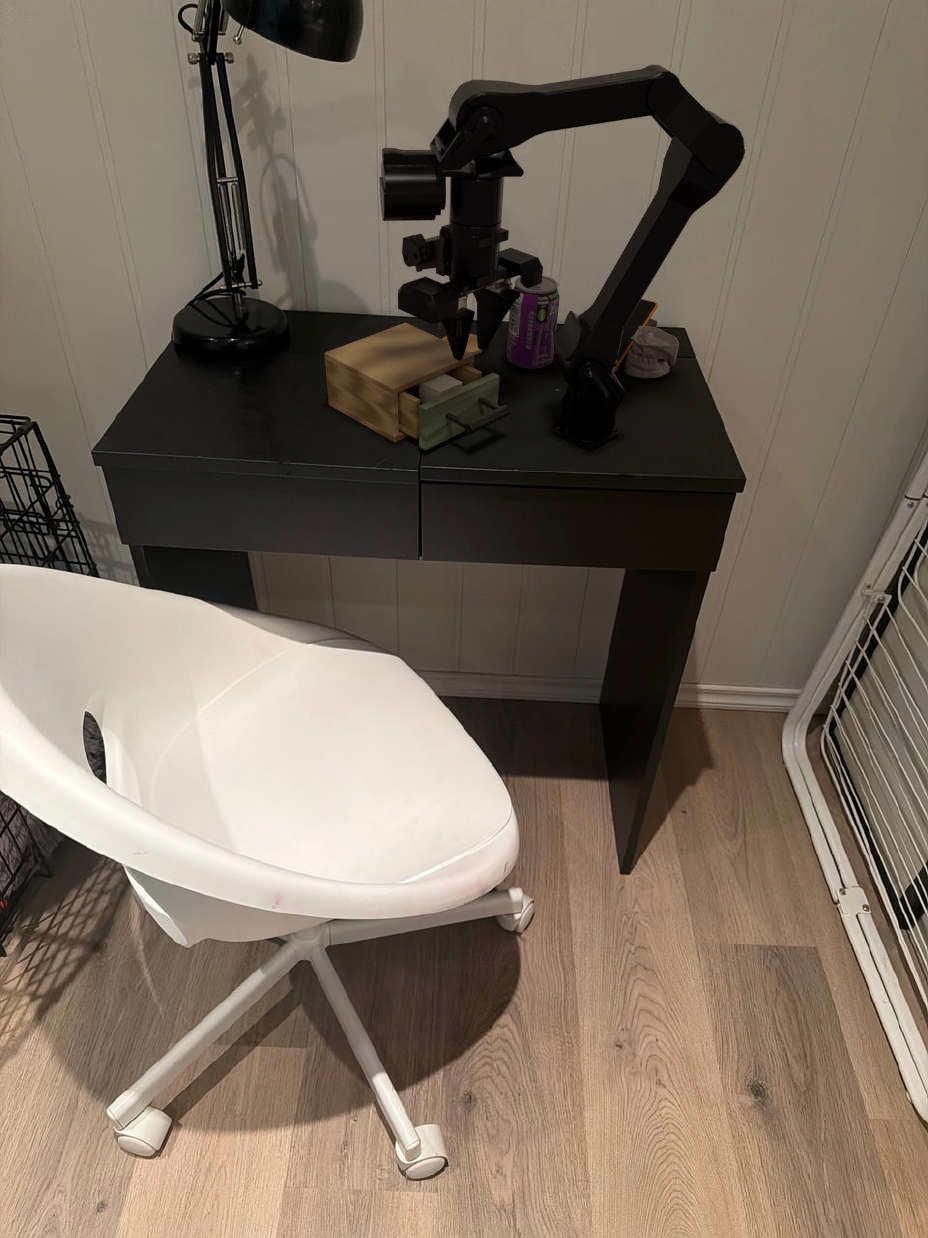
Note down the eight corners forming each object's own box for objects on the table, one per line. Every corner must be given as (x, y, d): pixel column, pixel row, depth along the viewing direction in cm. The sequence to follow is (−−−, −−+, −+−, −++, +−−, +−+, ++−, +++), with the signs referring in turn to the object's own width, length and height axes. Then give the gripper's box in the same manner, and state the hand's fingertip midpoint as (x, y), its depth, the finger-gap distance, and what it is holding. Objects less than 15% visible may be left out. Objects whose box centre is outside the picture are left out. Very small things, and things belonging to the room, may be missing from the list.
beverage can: (549, 375, 125) (558, 294, 117) (502, 369, 126) (507, 289, 118) (555, 354, 131) (563, 276, 122) (510, 349, 131) (515, 271, 123)
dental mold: (657, 353, 120) (652, 385, 124) (688, 340, 124) (682, 372, 127) (615, 335, 125) (611, 367, 128) (646, 323, 128) (641, 354, 131)
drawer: (524, 429, 112) (528, 388, 108) (452, 466, 104) (454, 424, 101) (432, 382, 120) (433, 344, 117) (361, 414, 113) (358, 373, 109)
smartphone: (659, 305, 131) (659, 301, 130) (611, 379, 125) (611, 375, 124) (614, 295, 134) (614, 291, 133) (566, 367, 128) (565, 363, 127)
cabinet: (472, 405, 118) (474, 354, 113) (394, 442, 110) (393, 388, 105) (406, 372, 125) (405, 322, 119) (328, 404, 117) (324, 352, 111)
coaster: (494, 346, 132) (494, 343, 131) (463, 360, 128) (463, 356, 128) (462, 332, 135) (462, 328, 135) (431, 345, 132) (431, 341, 131)
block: (461, 413, 112) (462, 382, 109) (439, 423, 110) (440, 392, 107) (440, 402, 114) (440, 371, 111) (418, 412, 112) (418, 380, 109)
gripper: (480, 185, 101) (475, 313, 112) (361, 217, 91) (368, 354, 102) (551, 208, 96) (539, 340, 106) (433, 245, 86) (432, 387, 96)
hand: (469, 354), depth 103 cm, fingers open, 4 cm apart
